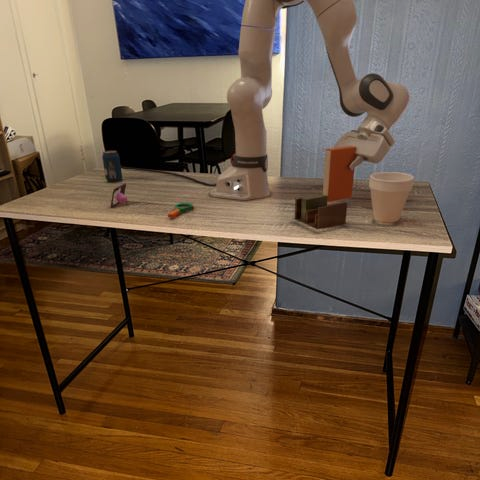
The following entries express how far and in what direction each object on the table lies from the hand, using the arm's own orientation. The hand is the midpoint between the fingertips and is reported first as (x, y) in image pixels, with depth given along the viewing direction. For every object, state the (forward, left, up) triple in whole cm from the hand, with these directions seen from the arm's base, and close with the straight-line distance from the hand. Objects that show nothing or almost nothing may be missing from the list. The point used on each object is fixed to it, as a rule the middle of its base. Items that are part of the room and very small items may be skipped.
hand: (345, 167), depth 147 cm
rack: (-4, -20, -13) cm, 24 cm away
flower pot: (+15, -13, -13) cm, 24 cm away
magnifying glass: (-51, -20, -13) cm, 56 cm away
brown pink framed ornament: (-76, -15, -13) cm, 78 cm away
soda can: (-99, +17, -13) cm, 101 cm away
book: (-2, -2, -10) cm, 10 cm away
